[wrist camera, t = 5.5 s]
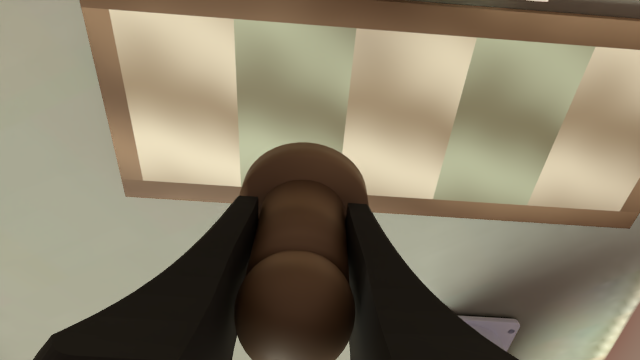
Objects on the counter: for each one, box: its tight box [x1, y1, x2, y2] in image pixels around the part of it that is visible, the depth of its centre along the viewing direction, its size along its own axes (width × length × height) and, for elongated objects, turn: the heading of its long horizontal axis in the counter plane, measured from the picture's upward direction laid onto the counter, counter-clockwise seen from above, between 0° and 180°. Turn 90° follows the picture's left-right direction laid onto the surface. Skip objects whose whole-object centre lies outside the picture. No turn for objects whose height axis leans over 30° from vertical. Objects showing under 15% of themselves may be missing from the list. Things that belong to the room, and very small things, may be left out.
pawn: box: [234, 142, 369, 360], centre depth 11 cm, size 4×4×6 cm
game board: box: [80, 0, 640, 229], centre depth 21 cm, size 11×30×1 cm, turn 86°
